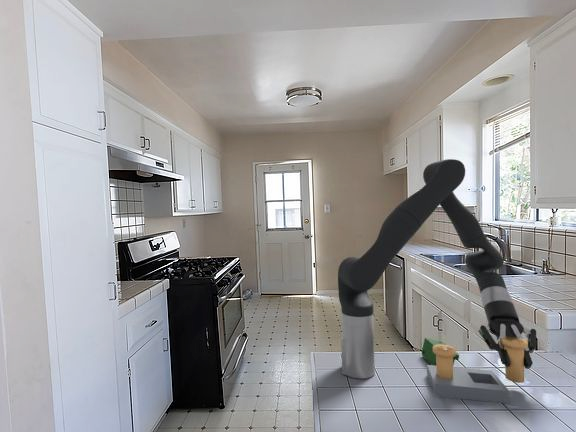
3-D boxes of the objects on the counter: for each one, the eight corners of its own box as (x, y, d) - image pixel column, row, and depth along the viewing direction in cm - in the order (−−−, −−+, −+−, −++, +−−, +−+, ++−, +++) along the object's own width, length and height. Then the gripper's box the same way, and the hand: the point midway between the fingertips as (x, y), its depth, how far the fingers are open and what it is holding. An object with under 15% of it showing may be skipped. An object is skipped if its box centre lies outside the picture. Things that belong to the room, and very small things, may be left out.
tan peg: (507, 383, 82) (506, 343, 82) (498, 372, 87) (497, 335, 88) (532, 385, 81) (532, 345, 81) (521, 375, 86) (521, 337, 86)
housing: (435, 395, 81) (434, 355, 82) (427, 375, 92) (426, 340, 92) (509, 403, 78) (508, 361, 78) (492, 381, 88) (491, 344, 88)
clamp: (451, 383, 96) (463, 360, 93) (431, 378, 96) (443, 356, 93) (437, 352, 107) (448, 331, 104) (419, 348, 107) (429, 327, 104)
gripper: (474, 297, 93) (490, 357, 81) (531, 300, 90) (556, 363, 78) (468, 311, 98) (483, 369, 86) (522, 314, 95) (545, 375, 83)
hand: (518, 366), depth 82 cm, fingers closed on tan peg, 4 cm apart
